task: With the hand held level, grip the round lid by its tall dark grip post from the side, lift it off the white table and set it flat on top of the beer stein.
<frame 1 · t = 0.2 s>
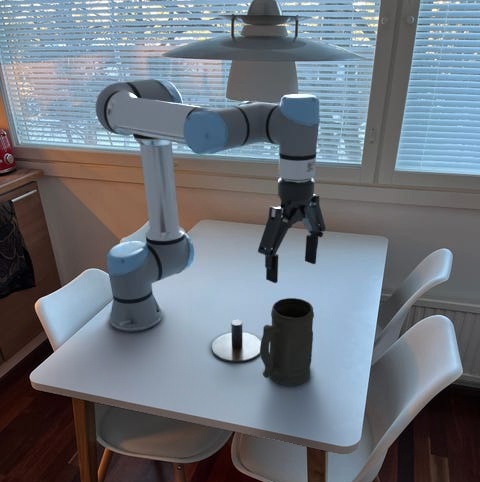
hand: (291, 271, 108), 28 cm above the table, tool pointing down, fingers open, 13 cm apart
beer stein: (283, 378, 120), on the table
lid: (237, 347, 131), on the table
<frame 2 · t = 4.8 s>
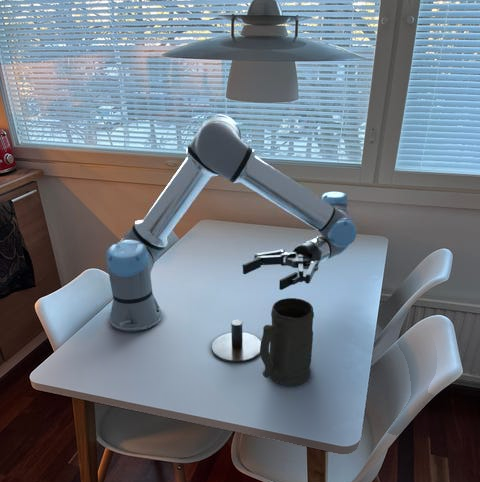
hand: (261, 277, 127), 18 cm above the table, tool horizontal, fingers open, 13 cm apart
nothing on the table moved.
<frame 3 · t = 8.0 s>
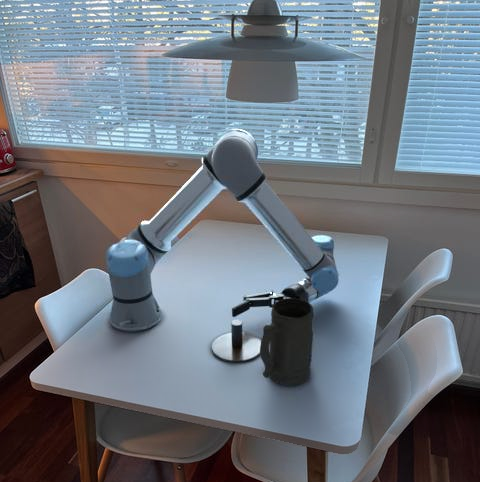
hand: (249, 321, 131), 6 cm above the table, tool horizontal, fingers open, 13 cm apart
nothing on the table moved.
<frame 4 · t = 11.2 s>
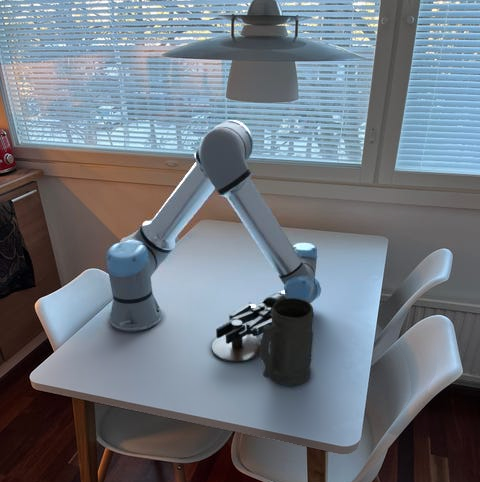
hand: (222, 336, 125), 6 cm above the table, tool horizontal, fingers closed on lid, 3 cm apart
lid: (237, 347, 131), on the table, touching gripper
everything else where it was.
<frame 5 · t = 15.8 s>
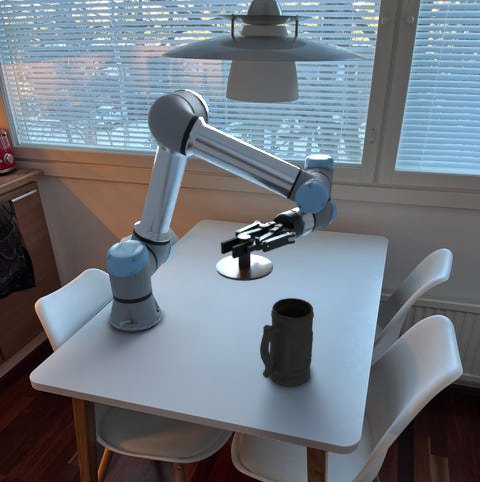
hand: (227, 250, 109), 32 cm above the table, tool horizontal, fingers closed on lid, 3 cm apart
lid: (244, 268, 116), point 25 cm above the table, touching gripper
everything else where it was.
when the fingers open (26 cm above the table, at t = 20.6 s): lid stays where it is, resting on beer stein.
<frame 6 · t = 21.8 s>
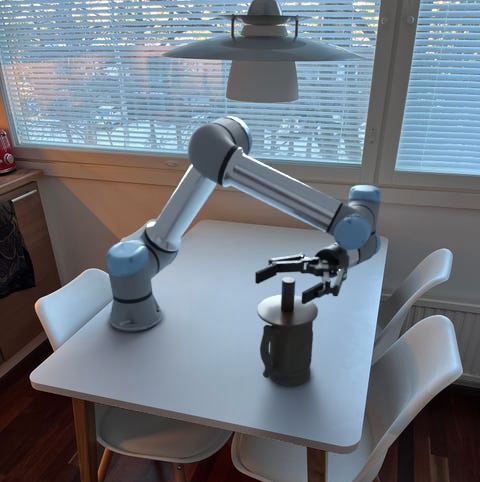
hand: (278, 288, 104), 27 cm above the table, tool horizontal, fingers open, 13 cm apart
beer stein: (283, 378, 120), on the table, touching lid
lid: (287, 311, 109), point 20 cm above the table, touching beer stein
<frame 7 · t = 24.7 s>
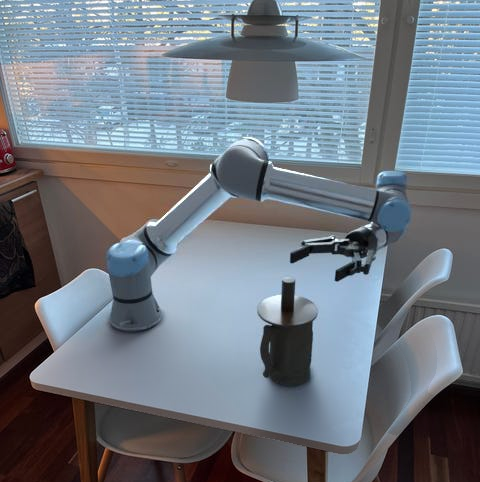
hand: (312, 266, 111), 27 cm above the table, tool horizontal, fingers open, 13 cm apart
nothing on the table moved.
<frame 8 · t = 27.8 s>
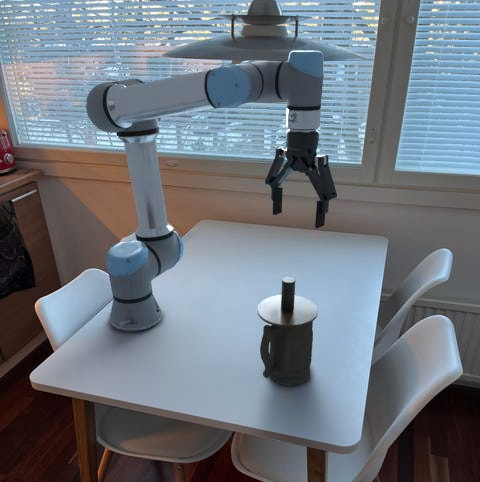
hand: (297, 219, 118), 35 cm above the table, tool pointing down, fingers open, 13 cm apart
nothing on the table moved.
at the end: lid inside the target area on the beer stein (0.0 cm from its centre), point 19.8 cm above the beer stein's base; lid tilted 0°; beer stein tilted 0° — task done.
